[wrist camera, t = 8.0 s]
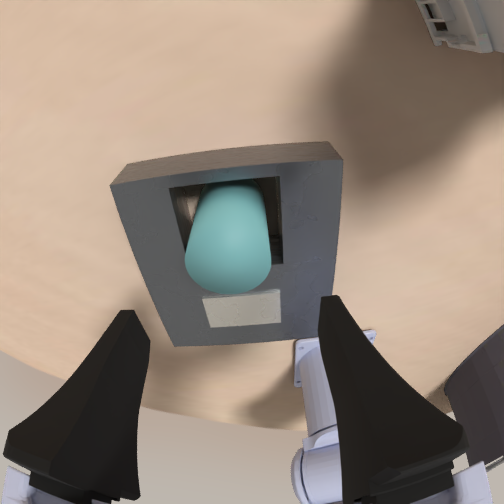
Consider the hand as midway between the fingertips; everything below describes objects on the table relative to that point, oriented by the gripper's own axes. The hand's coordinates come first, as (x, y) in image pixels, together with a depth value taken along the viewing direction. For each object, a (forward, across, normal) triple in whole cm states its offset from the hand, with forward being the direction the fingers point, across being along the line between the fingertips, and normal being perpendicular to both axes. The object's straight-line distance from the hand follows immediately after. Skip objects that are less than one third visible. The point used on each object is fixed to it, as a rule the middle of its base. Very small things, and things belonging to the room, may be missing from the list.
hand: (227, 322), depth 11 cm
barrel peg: (+9, 0, 0) cm, 9 cm away
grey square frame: (+9, 0, +3) cm, 10 cm away
